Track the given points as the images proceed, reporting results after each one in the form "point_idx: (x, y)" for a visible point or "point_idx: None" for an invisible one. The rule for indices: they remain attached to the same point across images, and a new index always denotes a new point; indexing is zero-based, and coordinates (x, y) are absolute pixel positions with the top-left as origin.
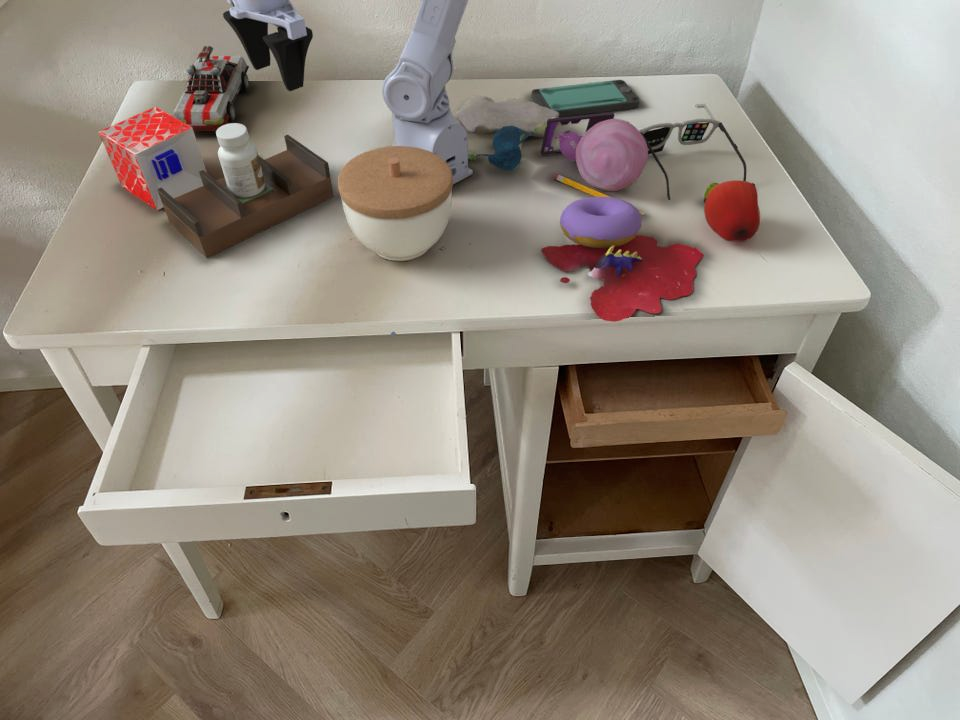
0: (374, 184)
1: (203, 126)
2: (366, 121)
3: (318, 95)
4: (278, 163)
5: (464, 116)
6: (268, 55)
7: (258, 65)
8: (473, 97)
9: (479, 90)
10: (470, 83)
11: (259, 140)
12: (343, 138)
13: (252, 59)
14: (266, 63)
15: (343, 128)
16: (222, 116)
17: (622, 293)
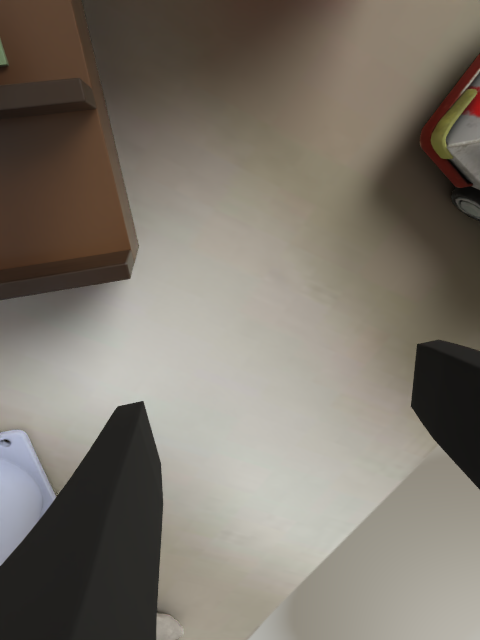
0: None
1: (463, 82)
2: (242, 457)
3: (402, 412)
4: (57, 187)
5: None
6: (442, 439)
7: (427, 367)
8: (166, 638)
9: (215, 631)
10: (246, 626)
11: (327, 221)
12: (206, 397)
13: (461, 365)
14: (421, 401)
15: (246, 411)
16: (455, 159)
17: None
